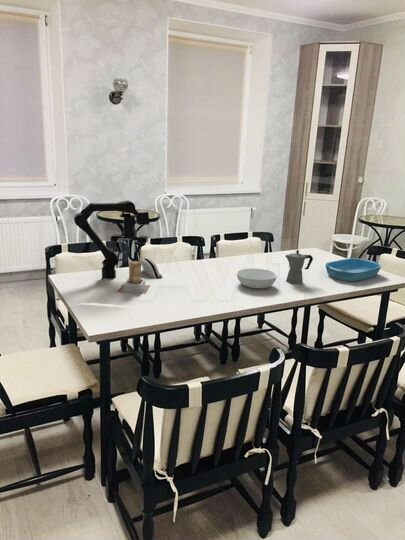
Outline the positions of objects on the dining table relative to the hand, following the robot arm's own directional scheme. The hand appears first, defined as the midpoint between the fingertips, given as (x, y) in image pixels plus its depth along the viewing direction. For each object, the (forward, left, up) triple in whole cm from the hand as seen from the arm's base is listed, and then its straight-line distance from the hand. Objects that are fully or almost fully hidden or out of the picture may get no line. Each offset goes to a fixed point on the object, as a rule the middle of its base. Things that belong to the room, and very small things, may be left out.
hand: (129, 254), depth 234 cm
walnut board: (+7, -20, -13) cm, 24 cm away
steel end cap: (+8, -22, -12) cm, 26 cm away
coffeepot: (+91, +13, -13) cm, 92 cm away
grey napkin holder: (+10, +9, -13) cm, 19 cm away
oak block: (+8, -22, -11) cm, 26 cm away
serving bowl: (+68, +1, -13) cm, 69 cm away
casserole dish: (+126, +33, -14) cm, 131 cm away
